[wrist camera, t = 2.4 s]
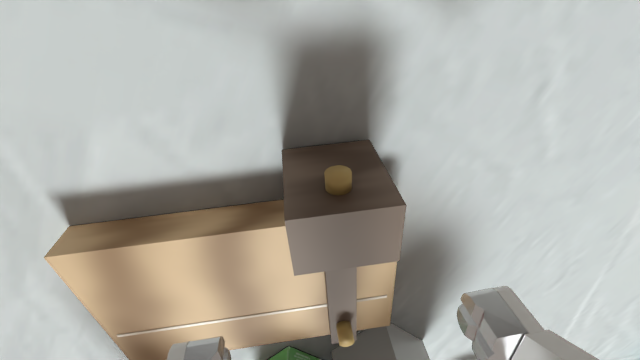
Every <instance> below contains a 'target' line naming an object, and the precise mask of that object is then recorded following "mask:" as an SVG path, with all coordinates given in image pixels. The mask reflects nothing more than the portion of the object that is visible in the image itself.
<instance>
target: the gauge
mask: <svg viewBox="0 0 640 360" xmlns="http://www.w3.org/2000/svg"><path fill="white" fill-rule="evenodd" d="M282 164H283V192H284V221H285V227H286V232H287V238H288V244H289V249H290V255H291V261H292V267H293V272H294V276H297V275H304V274H311V273H318V272H324V274H325V285H326V297H327V308H328V319H329V329H330V336H331V343H332V344H336V343H339V345H340V346H342V347H348V346H351V345H353V344H354V341H356V340H357V267H361V266H368V265H375V264H382V263H389V262H396V261H400V253H401V245H402V236H403V228H404V219H405V211H406V204H405V202H404V200H403V199H402V197H401V195H400V193H399V191H398V190H397V188H396V186H395V184H394V183H393V181H392V179H391V177H390V175H389V174H388V172H387V170H386V168H385V166H384V165H383V163H382V161H381V159H380V158H379V156H378V154H377V152H376V150H375V149H374V147H373V145H372V143H371V142H370V140H363V141H354V142H346V143H337V144H328V145H320V146H311V147H302V148H294V149H285V150H282Z"/></svg>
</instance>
